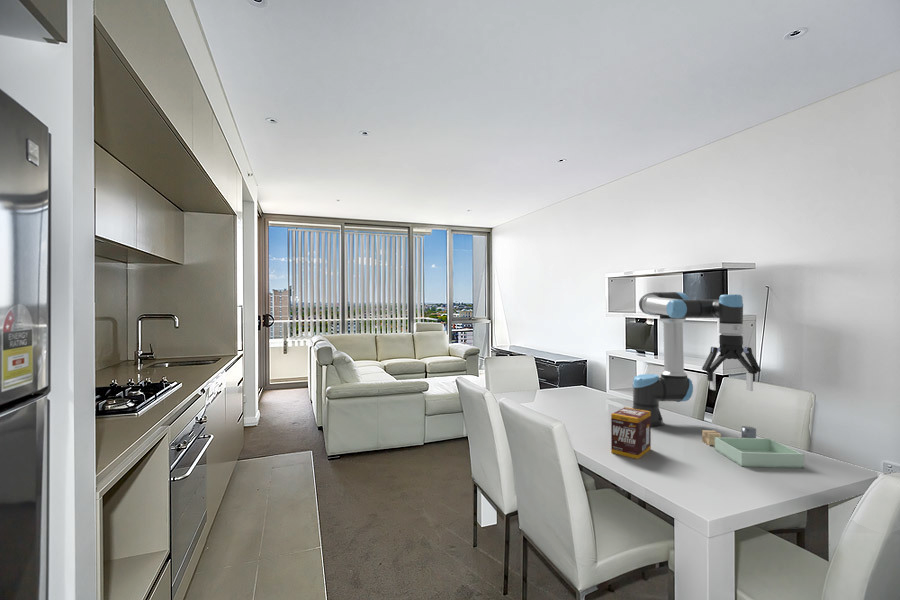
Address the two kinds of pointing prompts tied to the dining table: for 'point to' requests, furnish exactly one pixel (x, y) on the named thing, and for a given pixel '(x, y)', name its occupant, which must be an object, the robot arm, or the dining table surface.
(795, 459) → the tote
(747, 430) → the grey tin
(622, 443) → the supplement box
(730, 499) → the dining table surface
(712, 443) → the oak cube
